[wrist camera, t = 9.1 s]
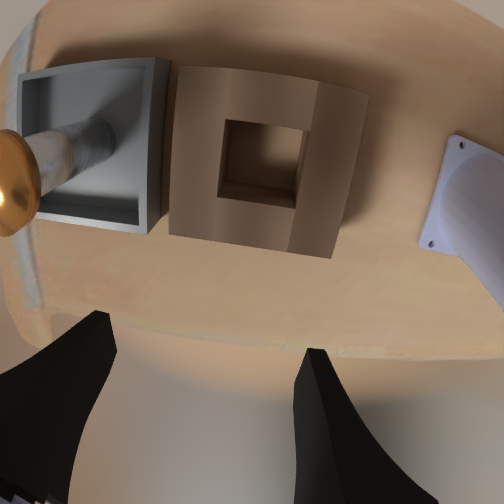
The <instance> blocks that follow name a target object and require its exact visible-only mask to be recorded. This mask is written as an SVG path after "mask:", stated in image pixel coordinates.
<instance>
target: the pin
mask: <svg viewBox="0 0 504 504" xmlns="http://www.w3.org/2000/svg"><path fill="white" fill-rule="evenodd" d="M115 143H116V138H115V133H114V130H113V128H112V127H111V125H110V124H109V123H108V122H107V121H106V120H104V119H101V118H91V119H87V120H83V121H79V122H75V123H71V124H68V125H64V126H60V127H57V128H54V129H50V130H47V131H44V132H40V133H37V134H34V135H31V136H28V137H25V138H23V137H22V136H21V135H20V134H18V133H17V132H15V131H13V130H9V129H2V130H0V236H3V237H7V236H11V235H13V234H14V233H16V232H17V231H19V230H20V229H21V228H23V227H24V226H25V225H27V224H28V223H29V222H30V221H31V220H32V219H33V218H34V217H35V215H36V213H37V211H38V208H39V205H40V200H41V197H42V196H43V195H45V194H47V193H48V192H50V191H52V190H53V189H55V188H57V187H58V186H60V185H62V184H64V183H65V182H67V181H69V180H71V179H72V178H74V177H76V176H78V175H80V174H82V173H83V172H85V171H87V170H89V169H91V168H93V167H95V166H97V165H99V164H101V163H103V162H105V161H106V160H108V159H109V158H110V156H111V155H112V153H113V151H114V149H115Z"/></svg>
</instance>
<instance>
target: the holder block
mask: <svg viewBox="0 0 504 504" xmlns="http://www.w3.org/2000/svg"><path fill="white" fill-rule="evenodd" d="M369 96H370V93H366V92H362V91H359V90H355V89H351V88H347V87H343V86H338V85H334V84H330V83H325V82H320V81H315V80H310V79H305V78H300V77H294V76H288V75H282V74H275V73H268V72H260V71H252V70H243V69H233V68H220V67H205V66H179V74H178V83H177V92H176V102H175V113H174V125H173V138H172V153H171V171H170V196H169V235H176V236H183V237H190V238H196V239H203V240H210V241H217V242H223V243H230V244H236V245H243V246H250V247H256V248H263V249H270V250H276V251H283V252H289V253H296V254H302V255H309V256H315V257H322V258H328V259H331V257H332V254H333V250H334V247H335V243H336V240H337V236H338V232H339V229H340V225H341V221H342V218H343V214H344V210H345V206H346V202H347V198H348V194H349V190H350V186H351V182H352V178H353V173H354V169H355V165H356V160H357V156H358V151H359V147H360V142H361V137H362V132H363V127H364V122H365V117H366V112H367V107H368V101H369ZM233 120H239V121H247V122H255V123H262V124H269V125H275V126H282V127H288V128H294V129H299V130H304V131H303V137H302V142H301V148H300V153H299V159H298V165H297V170H296V175H295V181H294V186H293V191H289V190H283V189H277V188H271V187H264V186H258V185H251V184H244V183H237V182H229V181H226V173H227V165H228V156H229V147H230V139H231V131H232V122H233Z"/></svg>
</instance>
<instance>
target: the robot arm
mask: <svg viewBox="0 0 504 504" xmlns="http://www.w3.org/2000/svg"><path fill="white" fill-rule="evenodd" d="M461 141H462V143H463V146H462V147H461V148H460V146H459V145H460V142H461ZM430 241H433V242H432V244H430V245H428V244H429V242H430ZM418 245H419V246H420V247H421V248H422V249H425V250H430V251H435V252H440V253H445V254H450V255H454V256H459V257H461V259H462V260H463V261H464V262H465V263H466V264H467V266H468V267H469V268H470V269H471V270H472V272H473V273H474V274H475V275H476V276H477V278H478V279H479V280H480V281H481V283H482V284H483V285H484V286H485V288H486V289H487V290H488V291H489V293H490V294H491V295H492V297H493V298H494V299H495V301H496V302H497V303H498V305H499V306H500V307H501V309H502V310H503V311H504V156H502V155H500V154H498V153H496V152H494V151H492V150H490V149H488V148H486V147H484V146H482V145H479V144H477V143H475V142H473V141H470V140H468V139H466V138H463V137H461V136H459V135H456V134H452V135H451V136H450V137H449V139H448V142H447V146H446V150H445V154H444V158H443V162H442V166H441V170H440V173H439V177H438V180H437V184H436V187H435V190H434V194H433V197H432V200H431V203H430V206H429V210H428V213H427V216H426V219H425V221H424V224H423V227H422V230H421V233H420V236H419V238H418ZM116 353H117V349H116V344H115V339H114V335H113V330H112V326H111V321H110V316H109V313H105V312H101V311H97V310H95V311H93V312H92V313H90V314H89V315H88V316H86V317H85V318H84V319H83V320H81V321H80V322H79V323H77V324H76V325H75V326H73V327H72V328H71V329H70V330H68V331H67V332H66V333H65V334H63V335H62V336H60V337H59V338H58V339H56V340H55V341H54V342H52V343H51V344H49V345H48V346H47V347H45V348H44V349H42V350H41V351H39V352H38V353H37V354H35V355H34V356H32V357H31V358H29V359H27V360H26V361H24V362H23V363H21V364H19V365H17V366H16V367H14V368H12V369H10V370H8V371H6V372H4V373H2V374H0V504H34V503H35V501H37V502H38V503H40V504H44V503H45V501H46V502H48V503H50V504H68V494H69V486H70V480H71V475H72V470H73V465H74V461H75V456H76V453H77V449H78V445H79V442H80V439H81V435H82V432H83V429H84V426H85V423H86V421H87V419H88V416H89V414H90V412H91V410H92V408H93V406H94V404H95V402H96V400H97V398H98V396H99V394H100V392H101V390H102V387H103V385H104V383H105V381H106V379H107V377H108V375H109V373H110V370H111V367H112V365H113V362H114V359H115V356H116ZM293 412H294V428H295V443H296V468H297V469H296V484H295V496H294V504H439V503H438V500H436V499H435V498H434V497H433V496H431V495H430V494H428V493H427V492H426V491H425V490H423V489H422V488H421V487H420V486H418V485H417V484H416V483H415V482H414V481H413V480H412V479H411V478H410V477H409V476H407V475H406V474H405V473H404V472H403V471H402V469H401V468H400V467H399V466H398V465H397V464H396V463H395V462H394V461H393V460H392V459H391V458H390V457H389V455H388V454H387V453H386V452H385V451H384V449H383V448H382V447H381V446H380V444H379V443H378V442H377V441H376V439H375V438H374V437H373V435H372V434H371V432H370V431H369V430H368V428H367V427H366V425H365V424H364V422H363V421H362V419H361V417H360V416H359V414H358V413H357V411H356V409H355V408H354V406H353V404H352V403H351V401H350V399H349V397H348V395H347V393H346V392H345V390H344V388H343V386H342V384H341V382H340V380H339V378H338V376H337V374H336V372H335V370H334V368H333V366H332V364H331V361H330V359H329V357H328V355H327V352H326V351H325V350H324V349H314V348H307V351H306V354H305V356H304V359H303V362H302V365H301V367H300V370H299V372H298V375H297V377H296V380H295V384H294V401H293Z"/></svg>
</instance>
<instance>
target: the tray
mask: <svg viewBox="0 0 504 504" xmlns="http://www.w3.org/2000/svg"><path fill="white" fill-rule="evenodd" d="M170 64H171V61H169V60H165V59H161V58H157V57H141V58H123V59H110V60H100V61H91V62H83V63H76V64H69V65H63V66H57V67H51V68H46V69H41V70H36V71H32V72H27V73H23V74H19V75H18V87H17V133H18V134H20V135H21V136H22V137H23V138H25V137H28V136H31V135H34V134H37V133H40V132H44V131H47V130H50V129H54V128H57V127H60V126H64V125H68V124H71V123H75V122H79V121H83V120H87V119H91V118H101V119H104V120H106V121H107V122H108V123H109V124H110V125H111V127H112V128H113V130H114V133H115V138H116V143H115V149H114V151H113V153H112V155H111V156H110V158H109V159H108V160H106V161H105V162H103V163H101V164H99V165H97V166H95V167H93V168H91V169H89V170H87V171H85V172H83V173H82V174H80V175H78V176H76V177H74V178H72V179H71V180H69V181H67V182H65V183H64V184H62V185H60V186H58V187H57V188H55V189H53V190H52V191H50V192H48V193H47V194H45V195H43V196H42V197H41V200H40V205H39V208H38V211H37V213H36V215H35V217H34V218H38V219H45V220H52V221H58V222H65V223H72V224H79V225H85V226H92V227H99V228H105V229H112V230H119V231H125V232H132V233H139V234H145V235H147V234H148V233H149V232H150V231H151V229H152V228H153V227H154V226H155V225H156V223H157V222H158V221H159V220H160V219H161V187H162V160H163V142H164V127H165V114H166V102H167V92H168V82H169V73H170Z"/></svg>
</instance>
